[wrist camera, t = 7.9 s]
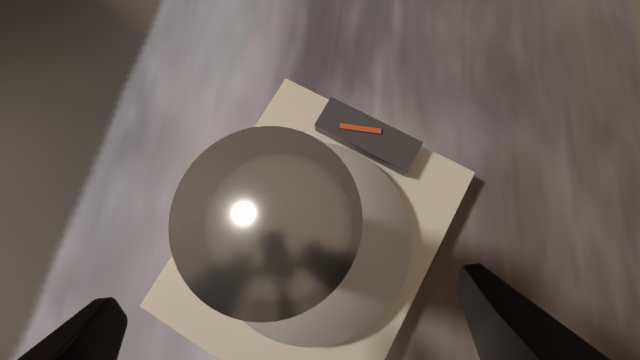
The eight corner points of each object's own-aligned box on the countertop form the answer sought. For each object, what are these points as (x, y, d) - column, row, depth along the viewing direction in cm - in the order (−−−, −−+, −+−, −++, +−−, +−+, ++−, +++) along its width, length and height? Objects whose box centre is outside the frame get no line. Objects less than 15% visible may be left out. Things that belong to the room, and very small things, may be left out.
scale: (342, 431, 17) (343, 460, 15) (151, 302, 19) (126, 309, 17) (466, 177, 20) (484, 167, 17) (288, 87, 22) (282, 68, 19)
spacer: (342, 282, 17) (353, 336, 6) (268, 273, 17) (148, 307, 6) (349, 207, 17) (370, 134, 7) (278, 199, 18) (189, 118, 7)
